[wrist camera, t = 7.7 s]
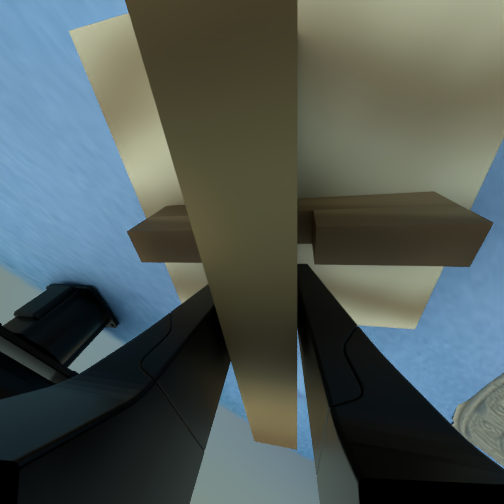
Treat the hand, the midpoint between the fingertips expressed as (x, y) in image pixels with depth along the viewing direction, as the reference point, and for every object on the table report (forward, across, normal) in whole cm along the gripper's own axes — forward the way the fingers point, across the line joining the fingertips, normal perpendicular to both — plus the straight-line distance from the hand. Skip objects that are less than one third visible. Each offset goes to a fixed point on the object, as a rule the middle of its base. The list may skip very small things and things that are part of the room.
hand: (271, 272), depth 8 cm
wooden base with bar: (+7, 0, 0) cm, 7 cm away
